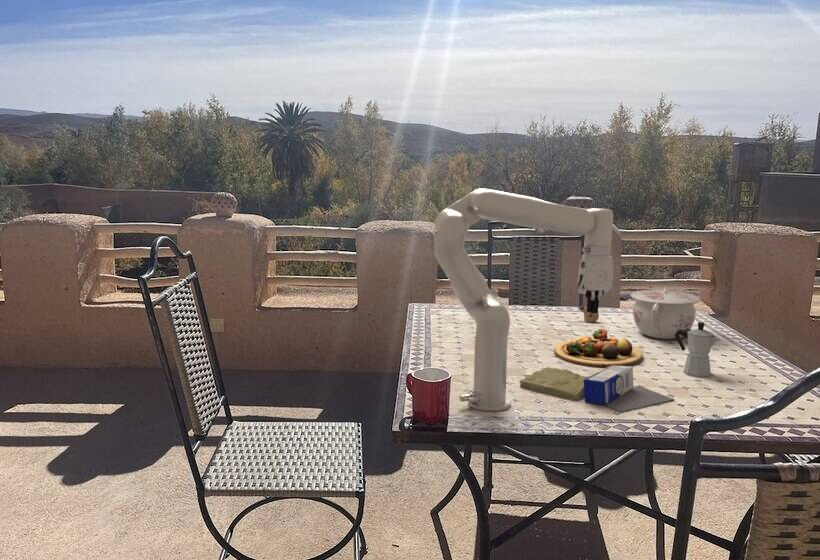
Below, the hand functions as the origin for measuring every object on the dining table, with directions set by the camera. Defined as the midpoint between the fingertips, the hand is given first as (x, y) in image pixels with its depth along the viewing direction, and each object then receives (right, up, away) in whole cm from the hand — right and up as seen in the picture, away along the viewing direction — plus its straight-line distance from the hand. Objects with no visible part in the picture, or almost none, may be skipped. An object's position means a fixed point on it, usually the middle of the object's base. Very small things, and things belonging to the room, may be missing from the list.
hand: (592, 312), depth 198 cm
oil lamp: (+27, -10, +105) cm, 108 cm away
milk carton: (+1, -24, +2) cm, 24 cm away
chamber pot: (+51, -14, +82) cm, 98 cm away
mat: (+13, -27, +7) cm, 31 cm away
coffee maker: (+44, -23, +32) cm, 59 cm away
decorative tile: (-5, -25, +18) cm, 32 cm away
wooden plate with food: (+16, -19, +53) cm, 59 cm away
